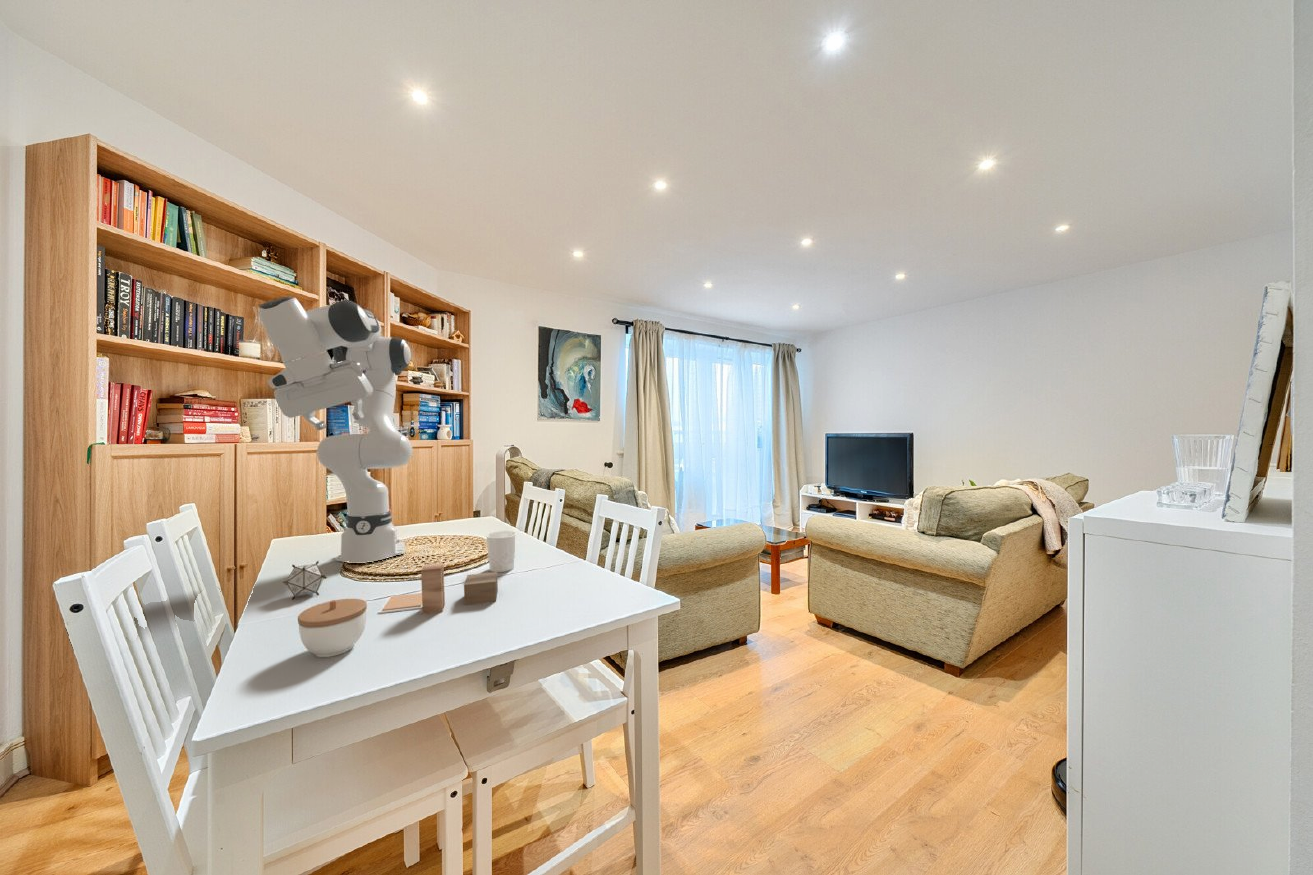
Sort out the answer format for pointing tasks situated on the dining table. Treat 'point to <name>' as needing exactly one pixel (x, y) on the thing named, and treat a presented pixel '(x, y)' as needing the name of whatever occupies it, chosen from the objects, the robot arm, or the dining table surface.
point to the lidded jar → (332, 626)
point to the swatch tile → (402, 603)
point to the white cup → (501, 551)
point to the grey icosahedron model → (305, 580)
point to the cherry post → (433, 588)
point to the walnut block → (480, 588)
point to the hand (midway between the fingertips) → (341, 423)
